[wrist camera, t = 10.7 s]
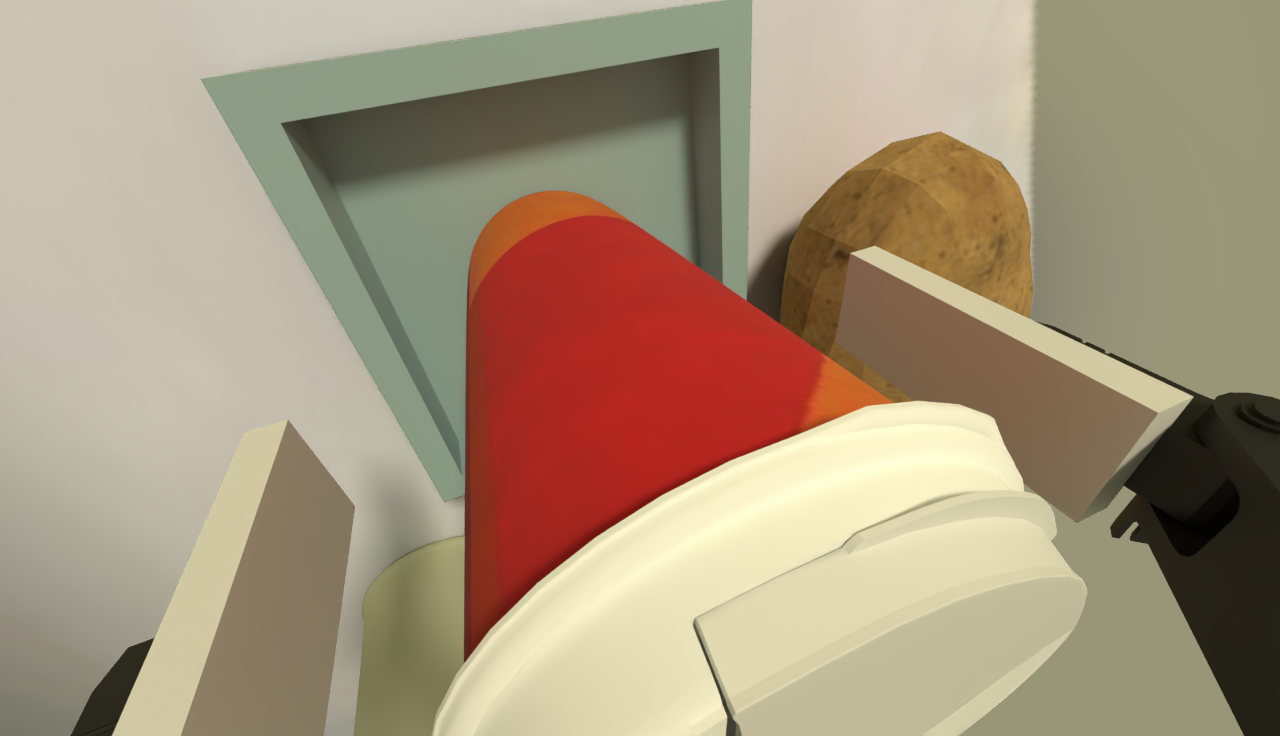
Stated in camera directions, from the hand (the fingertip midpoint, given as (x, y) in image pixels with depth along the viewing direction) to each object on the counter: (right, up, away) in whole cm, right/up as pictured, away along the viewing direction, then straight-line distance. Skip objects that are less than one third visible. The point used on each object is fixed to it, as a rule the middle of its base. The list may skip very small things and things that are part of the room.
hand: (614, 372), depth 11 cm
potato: (+9, +5, +12) cm, 16 cm away
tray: (-3, +4, +6) cm, 8 cm away
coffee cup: (-2, +4, +6) cm, 7 cm away
